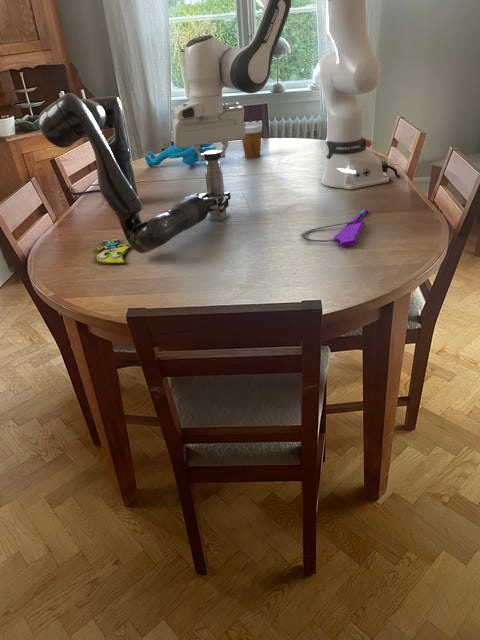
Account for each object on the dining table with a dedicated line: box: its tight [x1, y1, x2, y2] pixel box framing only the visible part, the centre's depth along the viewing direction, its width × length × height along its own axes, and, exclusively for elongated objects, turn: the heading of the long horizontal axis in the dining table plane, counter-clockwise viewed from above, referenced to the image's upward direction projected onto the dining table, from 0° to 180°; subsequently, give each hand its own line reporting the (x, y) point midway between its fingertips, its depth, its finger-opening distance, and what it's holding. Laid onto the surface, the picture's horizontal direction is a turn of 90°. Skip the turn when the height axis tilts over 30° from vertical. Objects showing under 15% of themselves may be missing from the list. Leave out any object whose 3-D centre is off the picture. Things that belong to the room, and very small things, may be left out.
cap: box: [204, 149, 222, 162], centre depth 135 cm, size 5×5×2 cm
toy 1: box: [95, 238, 133, 265], centre depth 129 cm, size 10×1×15 cm
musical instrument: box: [301, 208, 369, 248], centre depth 130 cm, size 24×2×20 cm
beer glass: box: [241, 123, 263, 159], centre depth 199 cm, size 10×10×12 cm
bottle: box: [204, 159, 228, 221], centre depth 140 cm, size 5×5×19 cm
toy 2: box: [144, 143, 217, 168], centre depth 197 cm, size 17×11×30 cm
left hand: (221, 194), depth 144 cm, fingers closed on bottle, 5 cm apart
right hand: (212, 159), depth 136 cm, fingers closed on cap, 4 cm apart
